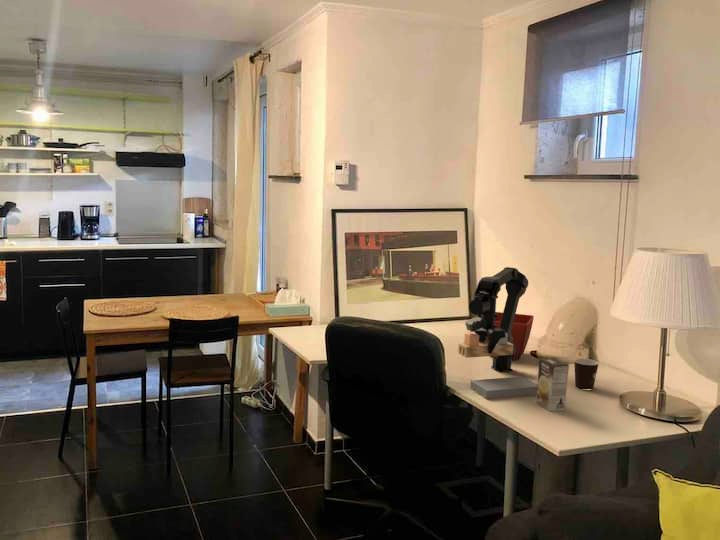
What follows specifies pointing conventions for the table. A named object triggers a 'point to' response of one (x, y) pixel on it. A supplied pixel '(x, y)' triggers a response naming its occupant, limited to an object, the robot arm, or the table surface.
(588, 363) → the coffee mug
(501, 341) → the grey cube
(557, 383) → the coffee box
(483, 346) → the wooden block
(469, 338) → the orange cube
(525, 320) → the plant pot
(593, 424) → the table surface
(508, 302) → the robot arm
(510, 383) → the dock
